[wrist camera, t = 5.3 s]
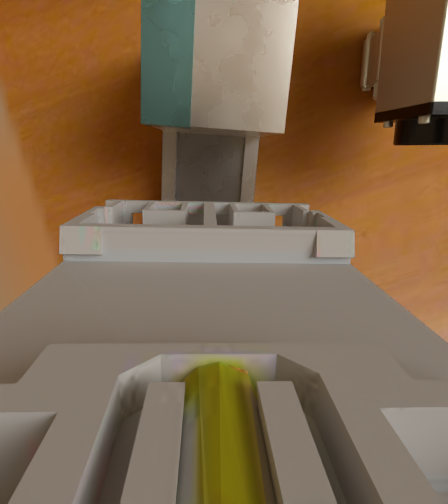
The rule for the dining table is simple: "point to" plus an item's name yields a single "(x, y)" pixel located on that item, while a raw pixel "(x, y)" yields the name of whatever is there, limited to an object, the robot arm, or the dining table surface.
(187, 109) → the rail with modules
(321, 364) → the circuit breaker
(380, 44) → the pneumatic valve
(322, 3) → the dining table surface
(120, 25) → the dining table surface
